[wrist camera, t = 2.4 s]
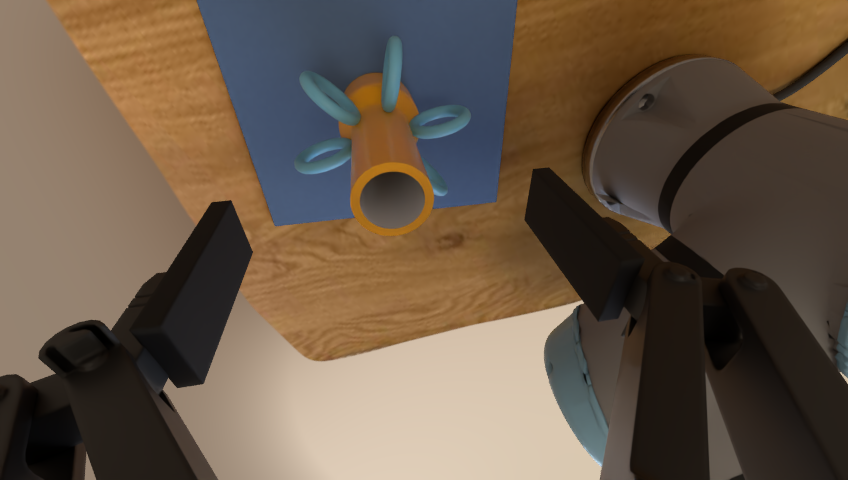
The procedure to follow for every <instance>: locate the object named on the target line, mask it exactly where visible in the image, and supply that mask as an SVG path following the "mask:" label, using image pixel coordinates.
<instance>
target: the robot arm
mask: <svg viewBox="0 0 848 480" xmlns="http://www.w3.org/2000/svg"><path fill="white" fill-rule="evenodd" d="M846 54H848V41H847V42H846V43H845V44H843V45H842V46H841V47H840V48H838V49H837V50H836V51H835V52H833V53H832V54H831V55H830V56H829V57H827V58H826V59H825V60H824V61H822V62H821V63H820V64H819V65H817V66H816V67H815V68H813V69H812V70H811V71H809V72H808V73H807V74H805V75H804V76H803V77H801V78H800V79H798V80H797V81H795V82H794V83H792V84H791V85H789V86H788V87H786V88H785V89H783V90H781V91H779V92H777V93H776V94H774V95H772V94H770V93H769V92H768V91H767V90H766V89H764V88H763V87H762V86H761V85H760V84H758V83H757V82H756V81H755V80H754V79H752V78H751V77H750V76H749V75H748V74H746V73H745V72H744V71H743V70H742V69H741V68H740V67H738V66H737V65H735V64H734V63H732V62H730V61H727V60H724V59H720V58H715V57H710V56H705V55H697V54H694V55H682V56H677V57H673V58H670V59H667V60H664V61H662V62H660V63H657V64H655V65H653V66H651V67H650V68H648V69H646V70H644V71H643V72H641V73H640V74H638V75H637V76H636V77H634V78H633V79H632V80H630V81H629V82H628V83H627V84H626V85H625V86H623V87H622V88H621V89H620V90H619V91H618V92H617V93H616V94H615V95H614V97H613V98H612V99H611V100H610V101H609V102H608V104H607V105H606V106H605V107H604V109H603V110H602V112H601V113H600V115H599V116H598V118H597V120H596V121H595V123H594V125H593V127H592V129H591V131H590V133H589V136H588V138H587V141H586V145H585V148H584V153H583V160H582V170H583V177H584V181H585V183H586V186H587V188H588V190H589V191H590V192H591V194H592V195H593V196H594V197H595V198H596V199H597V200H598V201H600V202H601V203H602V204H603V205H604V206H605V207H607V208H608V209H609V210H611V211H613V212H616V213H618V214H622V215H625V216H628V217H631V218H634V219H637V220H640V221H643V222H646V223H649V224H653V225H656V226H659V227H662V228H664V229H665V230H667V231H668V232H669V233H671V235H670V236H669V237H668V238H667V239H665V240H664V241H663V242H662V243H660V244H659V245H658V246H657V247H655V248H654V249H652V250H650V249H649V248H648V247H647V246H646V245H644V244H643V243H642V242H641V241H640V240H637V237H636V236H634V235H633V234H632V233H630V231H629V230H628V229H627V228H626V227H624V226H623V225H622V224H621V223H619V222H617V221H615V220H613V219H611V218H609V217H605V218H602V217H601V216H600V215H599V214H598V213H597V212H595V211H594V210H593V209H592V208H591V207H590V206H589V205H588V204H587V203H586V202H585V201H584V200H583V199H582V198H581V197H580V196H579V195H577V194H576V193H575V192H574V191H573V190H572V189H571V188H570V187H569V186H568V185H567V184H566V183H565V182H564V181H563V180H562V179H561V178H560V177H558V176H557V175H556V174H555V173H554V172H553V171H552V170H551V169H550V168H539V169H533V172H532V178H531V184H530V190H529V196H528V202H527V208H526V214H525V221H526V223H527V224H528V225H529V227H530V228H531V229H532V231H533V232H534V234H535V235H536V236H537V238H538V239H539V241H540V242H541V243H542V245H543V246H544V248H545V249H546V250H547V252H548V253H549V254H550V256H551V257H552V259H553V260H554V261H555V263H556V264H557V266H558V267H559V268H560V270H561V271H562V273H563V274H564V275H565V277H566V278H567V279H568V281H569V282H570V284H571V285H572V286H573V288H574V289H575V291H576V292H577V293H578V295H579V296H580V297H581V299H582V300H583V302H584V304H581V305H579V306H577V307H576V308H575V309H574V311H573V313H572V314H571V315H570V316H569V317H568V318H567V319H565V320H564V321H563V322H562V323H561V324H560V325H559V326H557V327H556V328H555V329H554V330H553V331H552V332H551V333H550V335H549V336H548V338H547V340H546V343H545V348H544V361H545V368H546V372H547V375H548V378H549V383H550V386H551V389H552V391H553V394H554V396H555V399H556V401H557V403H558V405H559V407H560V409H561V411H562V413H563V415H564V417H565V419H566V421H567V422H568V424H569V426H570V428H571V429H572V431H573V432H574V434H575V435H576V437H577V438H578V440H579V441H580V443H581V444H582V445H583V447H584V448H585V449H586V451H587V452H588V453H589V454H590V456H591V457H592V458H593V459H594V460H595V461H596V462H597V463H598V464H599V465H600V466H601V467H602V470H601V477H600V480H848V384H847V382H846V381H845V379H844V378H843V377H842V375H841V374H840V372H842V373H843V374H844V375H845V376H846V377H847V378H848V120H844V119H840V118H837V117H833V116H829V115H825V114H821V113H818V112H814V111H810V110H807V109H802V108H798V107H795V106H791V105H788V104H785V103H781V102H780V101H781V100H783V99H785V98H786V97H788V96H790V95H792V94H793V93H795V92H797V91H798V90H800V89H801V88H803V87H804V86H806V85H807V84H809V83H810V82H811V81H813V80H814V79H815V78H817V77H818V76H819V75H821V74H822V73H823V72H825V71H826V70H827V69H829V68H830V67H831V66H832V65H834V64H835V63H836V62H837V61H839V60H840V59H841V58H842V57H844V56H845V55H846ZM252 253H253V251H252V249H251V247H250V244H249V242H248V239H247V237H246V235H245V232H244V230H243V227H242V225H241V223H240V220H239V218H238V216H237V213H236V211H235V208H234V206H233V204H232V201H231V200H230V201H221V202H212V203H211V204H210V206H209V207H208V209H207V210H206V212H205V214H204V215H203V217H202V218H201V220H200V221H199V223H198V224H197V226H196V227H195V229H194V231H193V232H192V234H191V235H190V237H189V238H188V240H187V241H186V243H185V244H184V246H183V247H182V249H181V251H180V252H179V254H178V255H177V257H176V258H175V260H174V261H173V263H172V264H171V266H170V268H169V269H168V271H167V272H164V273H157V274H156V275H154V276H153V277H152V278H151V279H149V280H148V281H147V282H146V283H144V284H143V285H142V287H141V288H140V290H139V291H138V293H137V294H136V296H135V298H134V299H133V300H132V301H131V303H130V304H129V305H128V308H126V310H125V311H124V313H123V314H122V315H121V317H120V318H119V320H118V321H117V323H116V324H115V325H114V327H113V328H112V330H111V331H110V330H109V329H108V327H107V326H106V325H105V324H104V323H102V322H101V321H98V320H88V321H84V322H79V323H77V324H74V325H72V326H69V327H67V328H65V329H64V330H62V331H60V332H59V333H57V334H55V335H54V336H53V337H52V338H50V339H49V340H48V341H47V342H46V343H45V344H44V346H43V347H42V348H41V350H40V351H39V359H40V360H41V361H42V362H43V363H44V364H46V365H47V366H48V367H49V368H50V369H51V370H53V371H54V372H55V373H56V374H54V375H51V376H48V377H45V378H43V379H40V380H37V381H34V382H32V383H29V382H27V381H26V380H25V379H24V378H22V377H20V376H19V375H16V374H14V375H5V376H1V377H0V480H84V477H85V463H86V451H87V454H88V457H89V460H90V463H91V466H92V468H93V471H94V474H95V477H96V480H218V479H217V477H216V476H215V474H214V472H213V470H212V469H211V467H210V465H209V464H208V462H207V460H206V459H205V457H204V455H203V454H202V452H201V450H200V449H199V447H198V445H197V444H196V442H195V440H194V439H193V437H192V435H191V434H190V432H189V430H188V429H187V427H186V425H185V424H184V422H183V420H182V419H181V417H180V415H179V414H178V412H177V410H176V409H175V407H174V405H173V404H172V402H171V400H170V399H169V397H168V396H167V394H166V393H165V392H164V391H163V387H164V385H165V383H166V381H167V379H168V378H169V379H170V380H171V381H172V382H173V384H174V385H175V386H176V387H177V388H181V387H187V386H194V385H200V384H203V383H204V381H205V378H206V376H207V373H208V371H209V368H210V365H211V363H212V360H213V357H214V355H215V352H216V349H217V347H218V344H219V341H220V339H221V336H222V333H223V331H224V328H225V325H226V322H227V320H228V317H229V314H230V312H231V309H232V306H233V304H234V301H235V299H236V296H237V293H238V291H239V288H240V285H241V283H242V280H243V277H244V275H245V272H246V269H247V267H248V264H249V261H250V259H251V256H252Z"/></svg>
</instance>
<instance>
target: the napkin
mask: <svg viewBox="0 0 848 480" xmlns="http://www.w3.org/2000/svg"><path fill="white" fill-rule="evenodd" d="M197 3H198V6H199V9H200V12H201V14H202V17H203V20H204V23H205V26H206V29H207V32H208V35H209V38H210V40H211V43H212V46H213V49H214V52H215V55H216V58H217V61H218V63H219V66H220V69H221V72H222V75H223V78H224V81H225V84H226V86H227V89H228V92H229V95H230V98H231V101H232V104H233V107H234V110H235V112H236V115H237V118H238V121H239V124H240V127H241V130H242V133H243V135H244V138H245V141H246V144H247V147H248V150H249V153H250V156H251V158H252V161H253V164H254V167H255V170H256V173H257V176H258V179H259V182H260V184H261V187H262V190H263V193H264V196H265V199H266V202H267V205H268V207H269V210H270V213H271V216H272V219H273V222H274V225H275V226H282V225H291V224H300V223H309V222H318V221H327V220H336V219H345V218H355V217H354V215H353V212H352V210H351V205H350V189H351V158H350V159H349V160H348V161H346V162H345V163H344V164H342V165H340V166H338V167H336V168H334V169H331V170H329V171H326V172H322V173H317V174H303V173H301V172H299V171H297V170H296V168H295V166H294V161H295V159H296V157H297V156H298V155H299V154H300V153H301V152H302V151H303V150H305V149H306V148H308V147H310V146H312V145H314V144H316V143H319V142H321V141H325V140H328V139H333V138H341V136H340V132H339V124H338V120H336V119H335V118H333V117H332V116H330V115H329V114H328V113H326V112H325V111H324V110H323V109H321V108H320V107H319V106H318V105H317V104H316V103H315V102H314V101H313V100H312V99H311V98H310V97H309V96H308V95H307V94H306V92H305V91H304V90H303V88H302V86H301V84H300V80H299V77H300V75H301V73H302V72H304V71H312V72H315V73H317V74H319V75H321V76H322V77H324V78H325V79H327V80H328V81H330V82H331V83H332V84H334V85H335V86H336V87H337V88H339V89H340V90H341V91H342V92H343V93H344V92H345V90H346V88H347V87H348V85H349V84H350V83H351V82H352V81H353V80H355V79H356V78H358V77H359V76H362V75H364V74H367V73H374V72H377V73H383V67H384V58H385V52H386V46H387V42H388V40H389V38H390V37H391V36H398V37H399V38H400V40H401V42H402V71H401V80H400V82H401V83H402V84H403V85H404V86H405V87H406V88H407V90H408V91H409V93H410V95H411V97H412V99H413V101H414V103H415V105H416V107H417V109H418V112H419V114H420V113H422V112H424V111H426V110H429V109H432V108H435V107H439V106H445V105H461V106H464V107H466V108H468V109H469V111H470V113H471V118H470V121H469V123H468V124H467V125H466V126H465V127H464V128H462V129H461V130H459V131H457V132H455V133H453V134H450V135H447V136H443V137H439V138H433V139H421V138H418V141H417V143H416V145H417V148H418V150H419V153H420V156H421V157H422V158H424V159H425V160H426V161H427V162H428V163H429V164H430V165H432V166H433V167H434V168H435V170H436V171H437V172H438V173H439V174H440V175H441V176H442V178H443V179H444V181H445V182H446V184H447V187H448V192H447V194H446V195H444V196H437V195H435V194H434V204H433V208H432V209H436V208H446V207H455V206H464V205H473V204H482V203H491V202H496V199H497V190H498V180H499V171H500V161H501V152H502V142H503V133H504V123H505V113H506V104H507V94H508V85H509V75H510V66H511V56H512V47H513V37H514V28H515V18H516V8H517V0H197ZM325 94H326V93H325ZM326 95H327V94H326ZM327 96H328V95H327ZM328 97H329V98H330V99H332V98H331V97H330V96H328ZM332 100H333V99H332ZM333 101H334V100H333ZM334 102H335V103H337V102H336V101H334ZM337 104H338V103H337ZM338 105H339V104H338ZM339 106H340V105H339ZM455 118H456V117H443V118H438V119H435V120H432V121H429V122H427V123H425V124H424V125H422V126H434V125H439V124H443V123H446V122H449V121H451V120H453V119H455ZM340 150H342V149H335V150H331V151H327V152H325V153H322V154H320V155H318V156H316V157H314V158H313V159H311V160H310V161H309V162H313V161H318V160H322V159H325V158H327V157H330V156H332V155H334V154H336V153H337V152H339V151H340Z"/></svg>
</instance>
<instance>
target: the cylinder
mask: <svg viewBox="0 0 848 480" xmlns="http://www.w3.org/2000/svg"><path fill="white" fill-rule="evenodd" d="M401 71H402V42H401V40H400V38H399V37H398V36H391V37H390V38H389V40H388V42H387V46H386V52H385V58H384V67H383V73H377V72H374V73H367V74H364V75H362V76H359V77H358V78H356V79H355V80H353V81H352V82H351V83H350V84H349V85H348V87H347V88H346V90H345V92H344V93H343V92H342V91H341V90H340V89H339V88H337V87H336V86H335V85H334V84H332V83H331V82H330V81H328V80H327V79H325V78H324V77H322V76H321V75H319V74H317V73H315V72H312V71H304V72H302V73H301V75H300V77H299V80H300V84H301V86H302V88H303V90H304V91H305V92H306V94H307V95H308V96H309V97H310V98H311V99H312V100H313V101H314V102H315V103H316V104H317V105H318V106H319V107H320V108H321V109H323V110H324V111H325V112H326V113H328V114H329V115H330V116H332V117H333V118H335V119H336V120H338V124H339V132H340V136H341V138H333V139H328V140H325V141H321V142H319V143H316V144H314V145H312V146H310V147H308V148H306V149H305V150H303V151H302V152H301V153H300V154H299V155H298V156H297V157H296V159H295V161H294V166H295V168H296V170H297V171H299V172H301V173H303V174H317V173H322V172H326V171H329V170H331V169H334V168H336V167H338V166H340V165H342V164H344V163H345V162H346V161H348V160H349V159H350V158H351V189H350V205H351V210H352V212H353V215H354V217H355V218H356V220H357V221H358V222H359V223H360V224H361V225H362V226H363V227H364V228H366V229H367V230H369V231H371V232H373V233H376V234H379V235H384V236H397V235H402V234H406V233H408V232H411V231H413V230H415V229H416V228H418V227H419V226H420V225H421V224H423V223H424V222H425V220H426V219H427V218H428V216H429V215H430V213H431V211H432V208H433V204H434V194H435V195H437V196H444V195H446V194H447V192H448V187H447V184H446V182H445V181H444V179H443V178H442V176H441V175H440V174H439V173H438V172H437V171H436V170H435V168H434V167H433V166H432V165H430V164H429V163H428V162H427V161H426V160H425V159H424V158H422V157H421V156H420V153H419V150H418V148H417V145H416V143H417V141H418V138H421V139H433V138H439V137H443V136H447V135H450V134H453V133H455V132H457V131H459V130H461V129H462V128H464V127H465V126H466V125H467V124H468V123H469V121H470V118H471V113H470V111H469V109H468V108H466V107H464V106H461V105H445V106H439V107H435V108H432V109H429V110H426V111H424V112H422V113H420V114H419V112H418V109H417V107H416V105H415V103H414V101H413V99H412V97H411V95H410V93H409V91H408V90H407V88H406V87H405V86H404V85H403V84H402V83H401V82H400V80H401ZM325 93H326V94H327V95H328V96H330V97H331V98H332V99H333V100H334V101H336V102H337V103H338V104H339V105H340V106H339V105H338V104H337V103H335V102H334V101H333V100H332V99H330V98H329V97H328V96H327V95H326V94H325ZM443 117H456V118H455V119H453V120H451V121H449V122H446V123H443V124H439V125H434V126H422V125H424V124H425V123H427V122H429V121H432V120H435V119H438V118H443ZM335 149H342V150H340V151H339V152H337V153H336V154H334V155H332V156H330V157H327V158H325V159H322V160H318V161H313V162H309V161H310V160H311V159H313V158H314V157H316V156H318V155H320V154H322V153H325V152H327V151H331V150H335Z"/></svg>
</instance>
